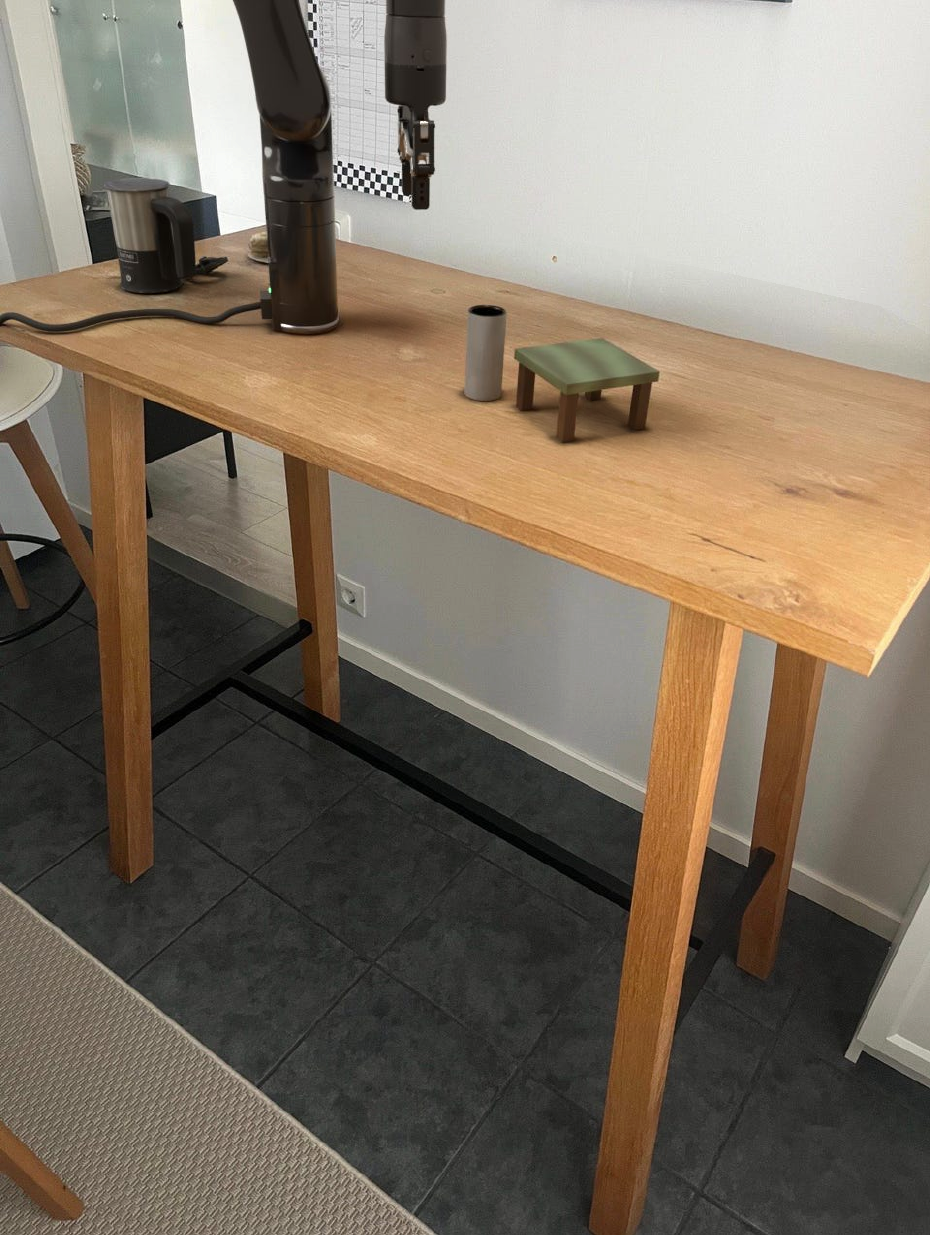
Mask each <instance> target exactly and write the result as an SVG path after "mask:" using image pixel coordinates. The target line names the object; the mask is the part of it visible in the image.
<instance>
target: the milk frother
mask: <svg viewBox="0 0 930 1235" xmlns="http://www.w3.org/2000/svg"><path fill="white" fill-rule="evenodd" d="M103 186H104V188H105V189H106V193H107V199H108V204H109V211H110V217H111V222H112V229H113V234H114V239H115V245H116V251H117V258H118V266H119V272H120V281H121V282H120V287H121V289H122V290H124V291H126V292H130V293H135V294H158V293H165V292H170V291H175V290H177V289H180V288H181V287H182V286H183V281H182V280H188V279H190V278H193V277H196V276H198V275H200V274H203V273H204V275H205V276H208V275H209V274H211V273H212V272H213V271H215V270H217V269H218V268H219V267H222V266H223V265H225V264H226V263H228V262H229V259H228V257H227V256H221V257H215V256H208V257H207V256H202V257H200V258H198V262H196V261H197V260H196V245H195V229H194V222H193V221H194V220H193V217H192V214H191V213H190V210H189V209H188V207H187V206H186V205H185V204H184V203H183V202H182V200H181V201H180V200H179V199H177V198H174V197H170V194H169V193H170V192H169V187H170V186H171V184H170V182H169V181H167V180H165V179H158V178H150V177H149V178H147V177H142V178H141V177H136V178H135V177H134V178H133V177H131V178H121V179H116V180H109V181H107V182H105V183H104V184H103Z"/></svg>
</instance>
